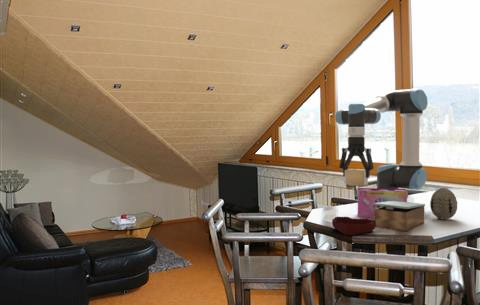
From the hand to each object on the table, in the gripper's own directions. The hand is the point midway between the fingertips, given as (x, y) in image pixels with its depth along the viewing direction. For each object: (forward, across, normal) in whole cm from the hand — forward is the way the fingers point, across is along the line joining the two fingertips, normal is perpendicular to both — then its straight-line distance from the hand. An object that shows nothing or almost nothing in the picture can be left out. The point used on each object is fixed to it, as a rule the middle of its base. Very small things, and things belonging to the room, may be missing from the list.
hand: (356, 183), depth 202 cm
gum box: (+18, +5, +17) cm, 25 cm away
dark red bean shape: (+18, +10, -23) cm, 31 cm away
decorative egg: (+18, +31, +29) cm, 46 cm away
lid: (+9, +20, +2) cm, 22 cm away
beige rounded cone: (0, 0, 0) cm, 0 cm away
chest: (+17, +20, +3) cm, 27 cm away
